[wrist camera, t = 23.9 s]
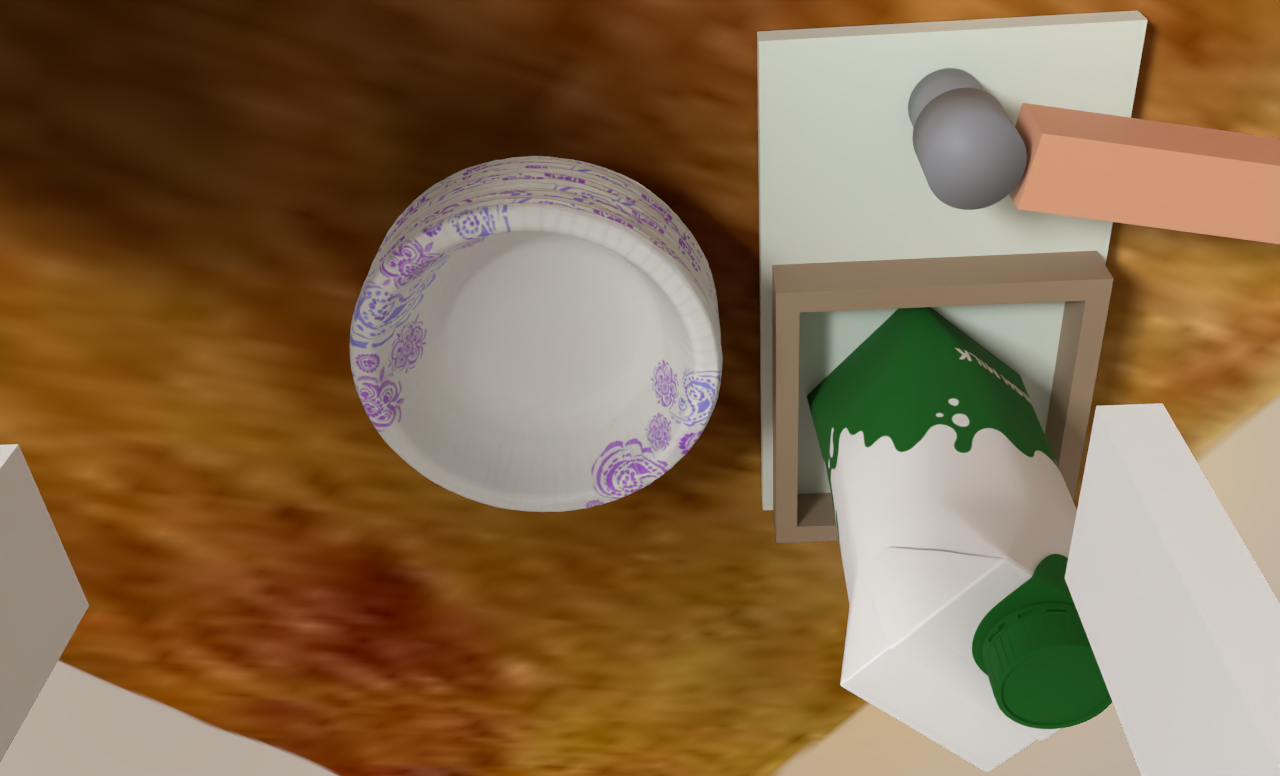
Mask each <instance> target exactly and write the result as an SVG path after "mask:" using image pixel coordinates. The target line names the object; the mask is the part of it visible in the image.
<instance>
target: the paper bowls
mask: <svg viewBox="0 0 1280 776" xmlns="http://www.w3.org/2000/svg"><path fill="white" fill-rule="evenodd" d="M722 361H723V356H722V348H721V331H720V323H719V314H718V303H717V295H716V289H715V285H714V280H713V277H712V273H711V269H710V268H709V263H708V261H707V259H706V258H705V255H704V253H703V252H702V250H701V248H700V246H699V245H698V243H697V241H696V239H695V238H694V236H693V234H692V233H691V232H690V230H689V229H688V228H687V227H686V225H685V224H684V223H683V222H682V221H681V219H680V218H679V217H678V215H677V214H675V213H674V212H673V211H672V209H671V208H670V207H669V206H668V205H667V204H666V203H665V202H664V201H662V200H661V199H660V198H659V197H657V196H656V195H655V194H654V193H652V192H651V191H650V190H648V189H647V188H646V187H644V186H643V185H641V184H640V183H638V182H636V181H635V180H632V179H630V178H628V177H626V176H624V175H622V174H620V173H617V172H614V171H612V170H609V169H607V168H604V167H600V166H597V165H594V164H591V163H586V162H582V161H577V160H573V159H563V158H557V157H549V156H524V157H511V158H507V159H503V160H494V161H491V162H487V163H483V164H479V165H476V166H472V167H469V168H466V169H463V170H461V171H459V172H457V173H454V174H453V175H451V176H449V177H447V178H446V179H444V180H442V181H440V182H438V183H436V184H435V185H433V186H432V187H430V188H429V189H428V190H426V191H425V192H424V193H422V194H421V195H420V196H419V197H418V198H416V199H415V200H414V201H413V202H412V204H411V205H409V206H408V207H407V209H406V210H405V211H404V212H403V213H402V214H401V215H400V216H399V217H398V218H397V220H396V221H395V222H394V224H393V225H392V227H391V228H390V229H389V231H388V233H387V235H386V236H385V238H384V240H383V242H382V244H381V246H380V248H379V250H378V253H377V255H376V257H375V259H374V260H373V262H372V265H371V268H370V270H369V273H368V276H367V278H366V280H365V282H364V284H363V287H362V290H361V292H360V295H359V298H358V300H357V303H356V306H355V310H354V314H353V318H352V323H351V330H350V362H351V370H352V374H353V379H354V383H355V386H356V390H357V393H358V395H359V398H360V400H361V403H362V405H363V407H364V409H365V411H366V413H367V415H368V417H369V418H370V421H371V422H372V424H373V425H374V427H375V428H376V430H377V431H378V433H379V434H380V435H381V437H382V438H383V439H384V440H385V442H386V443H387V444H388V445H389V446H390V447H391V448H392V449H393V450H394V451H395V452H396V453H397V454H398V455H399V456H400V457H401V458H402V459H403V460H404V461H405V462H406V463H407V464H409V465H410V466H411V467H413V468H414V469H415V470H417V471H418V472H419V473H420V474H421V475H423V476H424V477H426V478H427V479H429V480H431V481H432V482H434V483H436V484H438V485H440V486H442V487H443V488H445V489H447V490H449V491H451V492H454V493H456V494H458V495H460V496H463V497H465V498H468V499H471V500H474V501H477V502H480V503H483V504H487V505H490V506H494V507H498V508H503V509H510V510H519V511H531V512H562V511H572V510H579V509H586V508H590V507H594V506H598V505H603V504H605V503H609V502H611V501H615V500H618V499H620V498H622V497H625V496H628V495H630V494H631V493H633V492H636V491H638V490H640V489H642V488H644V487H645V486H648V485H650V484H651V483H652V482H653V481H655V480H656V479H658V478H659V477H661V476H662V475H663V474H664V473H666V472H667V471H668V470H670V469H672V468H673V467H674V465H675V464H676V463H677V462H678V461H679V460H680V459H681V458H682V457H684V456H685V455H686V454H687V452H688V451H689V450H690V449H691V448H692V447H693V445H694V444H695V442H696V441H697V440H698V438H699V437H700V435H701V434H702V433H703V430H704V428H705V427H706V425H707V423H708V421H709V418H710V416H711V415H712V412H713V410H714V408H715V405H716V402H717V399H718V394H719V389H720V385H721V376H722Z"/></svg>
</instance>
